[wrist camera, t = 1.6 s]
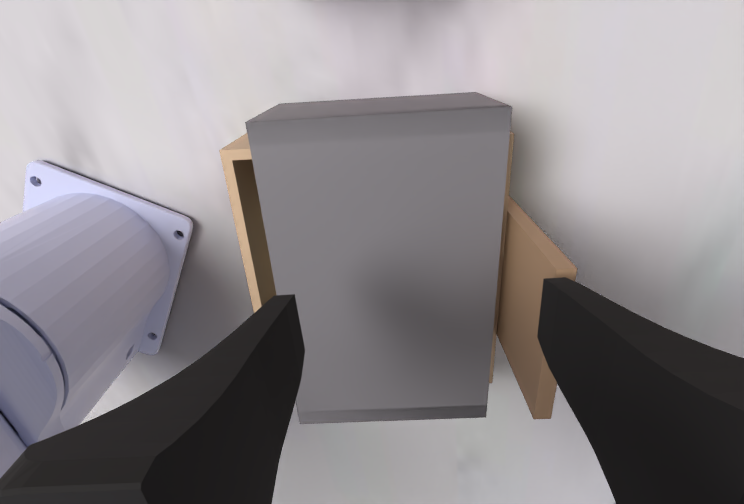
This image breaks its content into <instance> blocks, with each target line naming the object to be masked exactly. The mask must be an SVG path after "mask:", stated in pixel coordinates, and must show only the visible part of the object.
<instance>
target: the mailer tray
mask: <svg viewBox="0 0 744 504" xmlns="http://www.w3.org/2000/svg"><path fill="white" fill-rule="evenodd" d="M513 141H514V133H512V132H510V138H509V149H508V161H507V173H506V185H505V197H504V209H503V221H502V233H501V245H500V257H499V268H498V280H497V292H496V304H495V316H494V328H493V340H492V352H491V364H490V375H489V383H492V379H493V367H494V356H495V345H496V333H497V336H498V338H499V340H500V343H501V345H502V347H503V349H504V352H505V354H506V356H507V359H508V361H509V363H510V366H511V368H512V370H513V373H514V375H515V377H516V380H517V382H518V384H519V386H520V389H521V391H522V393H523V396H524V398H525V400H526V403H527V405H528V407H529V410H530V412H531V414H532V417H533V419H551V415H552V409H553V403H554V398H555V392H556V386H557V382H556V380H555V378H554V376H553V374H552V373H551V371H550V369H549V367H548V364H547V362H546V359H545V357H544V354H543V352H542V349H541V346H540V343H539V341H538V338H537V334H538V325H539V316H540V307H541V298H542V289H543V279H546V278H562V277H566V278H568V279H571V280H573V281H575V278H576V273H577V268H576V267H575V266H574V264H573V263H572V262H571V261H570V260H569V259H568V258H567V257H566V256H565V255H564V254H563V253H562V252H561V251H560V249H559V248H558V247H557V246H556V245H555V244H554V243H553V242H552V241H551V240H550V239H549V238H548V237H547V236H546V234H545V233H544V232H543V231H542V230H541V229H540V228H539V227H538V226H537V225H536V224H535V223H534V222H533V221H532V219H531V218H530V217H529V216H528V215H527V214H526V213H525V212H524V211H523V210H522V209H521V208H520V207H519V206H518V205H517V203H516V202H515V201H514V200H513V199H512V198H511V197H510V196H509V186H510V175H511V164H512V152H513ZM219 151H220V155H221V160H222V165H223V170H224V174H225V179H226V184H227V188H228V193H229V198H230V202H231V207H232V212H233V217H234V221H235V226H236V231H237V235H238V240H239V245H240V249H241V254H242V259H243V264H244V268H245V273H246V278H247V282H248V287H249V292H250V296H251V301H252V306H253V311H254V313H255V312H256V311H257V310H258V309H259V308H261V307H262V306H263V305H264V304H265V303H266V302H267V301H268V300H269V299H271V298H272V297H273V296H275V295H276V289H275V283H274V278H273V272H272V267H271V261H270V256H269V250H268V245H267V239H266V234H265V228H264V223H263V217H262V212H261V206H260V201H259V195H258V189H257V184H256V178H255V173H254V167H253V162H252V156H251V151H250V145H249V140H248V134H247V133H246V134H244V135H243V136H241V137H240V138H238V139H237V140H235V141H233V142H232V143H230V144H229V145H227V146H226V147H224V148H222V149H221V150H219Z"/></svg>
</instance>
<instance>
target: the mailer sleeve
mask: <svg viewBox="0 0 744 504" xmlns="http://www.w3.org/2000/svg"><path fill="white" fill-rule="evenodd" d="M511 114H512V107H511V106H509V105H506V104H504V103H501V102H499V101H496V100H494V99H491V98H489V97H486V96H484V95H481V94H479V93H476V92H471V93H454V94H437V95H420V96H403V97H386V98H369V99H352V100H335V101H319V102H302V103H285V104H278V105H276V106H274V107H273V108H271V109H269V110H267V111H265V112H263V113H262V114H260V115H258V116H256V117H254V118H252V119H250V120H249V121H247V122H245V123H246V129H247V134H248V140H249V145H250V151H251V156H252V162H253V167H254V173H255V178H256V184H257V189H258V195H259V201H260V206H261V212H262V217H263V223H264V228H265V234H266V239H267V245H268V250H269V256H270V261H271V267H272V272H273V278H274V283H275V289H276V295H291V294H295V299H296V304H297V309H298V315H299V320H300V325H301V331H302V336H303V341H304V347H305V355H304V363H303V370H302V377H301V382H300V386H299V390H298V393H297V397H296V405H297V411H298V416H299V422H300V424H314V423H341V422H369V421H397V420H425V419H452V418H480V417H486V411H487V399H488V387H489V375H490V364H491V352H492V340H493V328H494V316H495V304H496V292H497V280H498V268H499V257H500V245H501V233H502V221H503V209H504V197H505V185H506V173H507V161H508V149H509V138H510V126H511Z"/></svg>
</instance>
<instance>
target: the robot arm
mask: <svg viewBox="0 0 744 504" xmlns="http://www.w3.org/2000/svg"><path fill="white" fill-rule="evenodd" d="M36 177H38V178H39V179H40V180H41V184H40V183H39V182H38V181H37V180H36ZM177 230H178V231H181V232H182V233H183V234H184V237H181V236H179V235H178V234H177ZM192 230H193V223H192V221H191V219H190V218H188V217H187V216H184V215H182V214H179V213H177V212H174V211H171V210H169V209H166V208H164V207H161V206H158V205H156V204H153V203H151V202H148V201H145V200H143V199H140V198H138V197H135V196H132V195H130V194H127V193H125V192H122V191H119V190H117V189H114V188H112V187H109V186H106V185H104V184H101V183H99V182H96V181H93V180H91V179H88V178H85V177H83V176H80V175H78V174H75V173H72V172H70V171H67V170H65V169H62V168H59V167H57V166H54V165H52V164H49V163H46V162H44V161H40V160H36V161H33V162H30V163H29V164H27V167H26V177H25V190H24V202H23V212H22V213H19V214H17V215H15V216H13V217H11V218H8V219H6V220H4V221H2V222H0V504H272V497H273V492H274V486H275V480H276V474H277V469H278V463H279V459H280V455H281V450H282V447H283V443H284V440H285V436H286V432H287V429H288V425H289V422H290V418H291V415H292V411H293V408H294V404H295V401H296V397H297V393H298V390H299V386H300V382H301V377H302V370H303V363H304V355H305V347H304V341H303V336H302V331H301V325H300V320H299V315H298V309H297V304H296V299H295V294H291V295H275V296H273V297H272V298H271V299H269V300H268V301H267V302H266V303H265V304H264V305H263V306H262V307H261V308H259V309H258V310H257V311H256V312H255V313H254V314H253V315H252V316H251V317H250V318H248V319H247V320H246V321H245V322H244V323H243V324H242V325H241V326H240V327H238V328H237V329H236V330H235V331H234V332H233V333H232V334H230V335H229V336H228V337H227V338H225V339H224V340H223V341H222V342H220V343H219V344H218V345H217V346H216V347H214V348H213V349H212V350H211V351H209V352H208V353H207V354H205V355H204V356H203V357H201V358H200V359H199V360H197V361H196V362H194V363H193V364H192V365H190V366H189V367H187V368H186V369H184V370H183V371H181V372H180V373H178V374H177V375H175V376H173V377H172V378H170V379H168V380H167V381H165V382H163V383H162V384H160V385H158V386H156V387H155V388H153V389H151V390H149V391H148V392H146V393H144V394H142V395H141V396H139V397H137V398H135V399H133V400H131V401H129V402H128V403H126V404H124V405H122V406H120V407H118V408H116V409H114V410H111V411H109V412H107V413H105V414H103V415H101V416H99V417H97V418H94V419H92V420H90V421H88V422H86V423H83V424H81V425H79V424H80V423H81V422H82V421H83V420H84V418H85V417H86V416H87V414H88V413H89V412H90V411H91V409H92V408H93V407H94V406H95V404H96V403H97V402H98V401H99V399H100V398H101V397H102V396H103V394H104V393H105V392H106V390H107V389H108V388H109V387H110V385H111V384H112V383H113V382H114V380H115V379H116V378H117V377H118V375H119V374H120V373H121V372H122V370H123V369H124V368H125V366H126V365H127V364H128V363H129V361H130V360H131V359H132V358H133V356H134V355H135V354H136V353H137V351H138V352H142V353H145V354H148V355H154V354H156V353H157V352H158V351H159V349H160V347H161V343H162V339H163V336H164V332H165V328H166V325H167V321H168V318H169V314H170V310H171V307H172V303H173V299H174V296H175V292H176V288H177V285H178V281H179V278H180V274H181V270H182V267H183V263H184V259H185V256H186V252H187V248H188V245H189V241H190V237H191V234H192ZM152 333H154V334H156V336H155V335H153V334H152ZM537 338H538V341H539V343H540V346H541V349H542V352H543V354H544V357H545V359H546V362H547V364H548V367H549V369H550V371H551V373H552V374H553V376H554V378H555V380H556V382H557V384H558V385H559V387H560V389H561V391H562V393H563V394H564V396H565V398H566V400H567V402H568V403H569V405H570V407H571V409H572V411H573V412H574V414H575V416H576V418H577V419H578V421H579V423H580V425H581V427H582V428H583V430H584V432H585V434H586V436H587V438H588V440H589V442H590V444H591V446H592V448H593V449H594V452H595V454H596V456H597V459H598V461H599V463H600V465H601V468H602V470H603V472H604V475H605V477H606V479H607V482H608V484H609V486H610V489H611V491H612V494H613V496H614V499H615V501H616V504H744V358H741V357H738V356H735V355H732V354H729V353H726V352H723V351H721V350H718V349H715V348H712V347H710V346H707V345H705V344H702V343H700V342H697V341H695V340H692V339H690V338H687V337H685V336H682V335H680V334H678V333H675V332H673V331H671V330H668V329H666V328H664V327H662V326H660V325H658V324H656V323H654V322H652V321H649V320H647V319H645V318H643V317H641V316H639V315H637V314H635V313H633V312H631V311H629V310H627V309H625V308H624V307H622V306H620V305H618V304H616V303H614V302H612V301H610V300H609V299H607V298H605V297H603V296H601V295H599V294H598V293H596V292H594V291H592V290H590V289H588V288H587V287H585V286H583V285H581V284H579V283H577V282H575V281H573V280H571V279H568V278H566V277H562V278H546V279H543V289H542V298H541V307H540V316H539V325H538V334H537Z"/></svg>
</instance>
